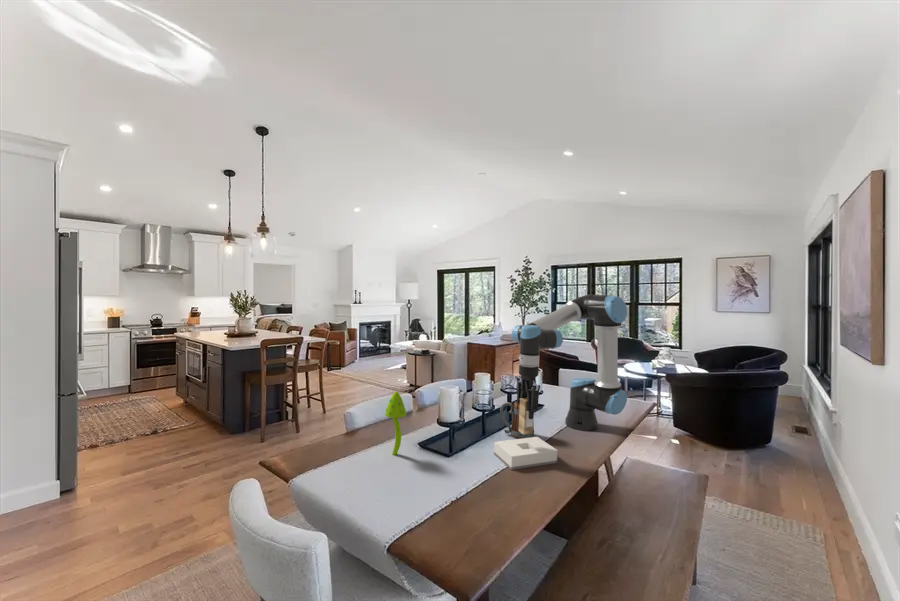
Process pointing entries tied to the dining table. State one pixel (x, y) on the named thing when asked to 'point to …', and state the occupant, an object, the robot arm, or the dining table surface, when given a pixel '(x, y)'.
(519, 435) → the mug
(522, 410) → the pin
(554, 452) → the block
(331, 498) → the dining table surface
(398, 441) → the mushroom
